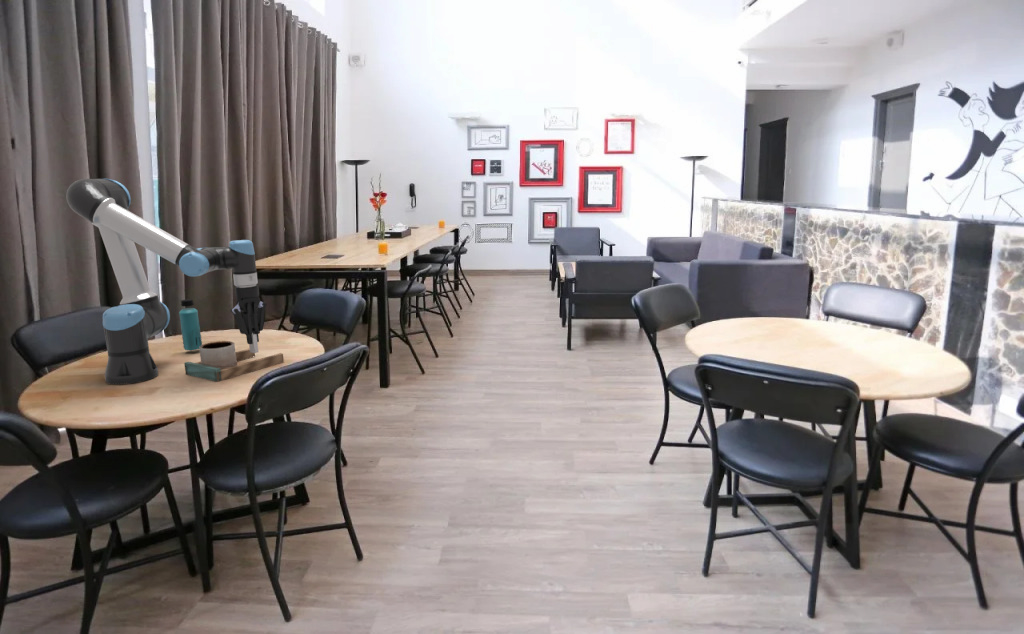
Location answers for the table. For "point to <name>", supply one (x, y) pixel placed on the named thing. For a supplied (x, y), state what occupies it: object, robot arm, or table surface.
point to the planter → (218, 354)
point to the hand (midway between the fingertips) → (254, 352)
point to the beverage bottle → (190, 326)
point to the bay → (223, 374)
